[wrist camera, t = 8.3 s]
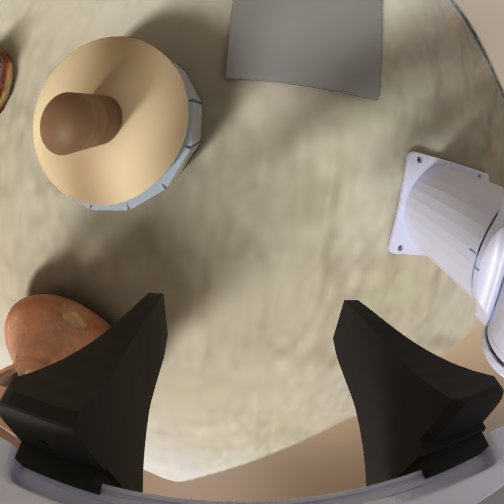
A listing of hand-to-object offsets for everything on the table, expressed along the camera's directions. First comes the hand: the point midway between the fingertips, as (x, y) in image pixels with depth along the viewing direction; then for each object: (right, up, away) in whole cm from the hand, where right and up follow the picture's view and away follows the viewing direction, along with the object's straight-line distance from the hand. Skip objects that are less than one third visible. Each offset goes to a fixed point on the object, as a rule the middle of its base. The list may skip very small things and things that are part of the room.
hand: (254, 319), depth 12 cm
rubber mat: (+4, +18, +3) cm, 18 cm away
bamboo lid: (-8, +10, +2) cm, 12 cm away
